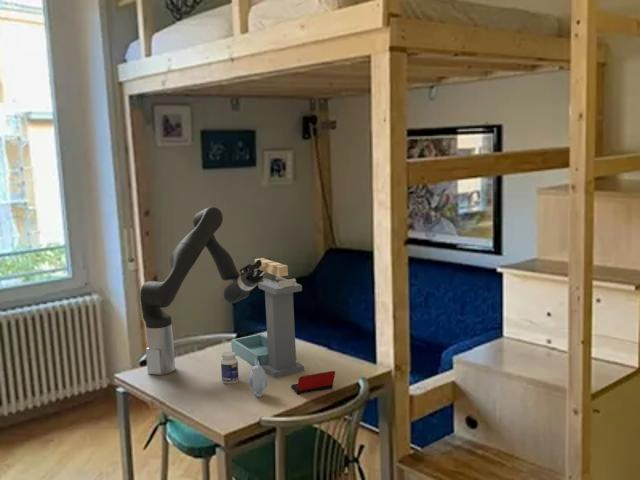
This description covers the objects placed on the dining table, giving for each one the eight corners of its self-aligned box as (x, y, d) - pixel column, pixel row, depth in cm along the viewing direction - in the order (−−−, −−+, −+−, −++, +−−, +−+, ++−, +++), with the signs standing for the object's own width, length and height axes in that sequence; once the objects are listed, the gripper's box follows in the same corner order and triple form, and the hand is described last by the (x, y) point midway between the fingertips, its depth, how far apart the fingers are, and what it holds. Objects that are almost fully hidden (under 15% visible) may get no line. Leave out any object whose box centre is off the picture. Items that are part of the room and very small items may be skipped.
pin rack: (260, 369, 231) (255, 276, 226) (289, 362, 237) (285, 271, 232) (277, 381, 219) (272, 282, 214) (308, 373, 225) (304, 277, 220)
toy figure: (244, 392, 210) (242, 356, 209) (262, 388, 213) (260, 353, 211) (255, 402, 201) (253, 366, 199) (273, 398, 203) (272, 362, 202)
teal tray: (231, 352, 253) (231, 339, 252) (261, 345, 259) (261, 333, 258) (258, 369, 231) (257, 356, 230) (290, 362, 238) (289, 349, 237)
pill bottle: (235, 384, 217) (233, 356, 216) (219, 383, 219) (217, 355, 217) (240, 378, 223) (239, 350, 222) (225, 377, 224) (223, 350, 223)
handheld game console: (325, 381, 217) (324, 360, 216) (336, 392, 207) (336, 370, 206) (290, 387, 213) (289, 366, 212) (300, 399, 203) (299, 376, 202)
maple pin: (255, 268, 236) (254, 259, 235) (263, 267, 238) (262, 258, 237) (279, 276, 219) (278, 267, 218) (288, 275, 220) (287, 265, 220)
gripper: (230, 271, 243) (244, 254, 229) (263, 266, 250) (279, 249, 236) (235, 289, 241) (250, 273, 227) (268, 284, 248) (285, 268, 234)
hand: (265, 261), depth 232 cm, fingers closed on maple pin, 3 cm apart
